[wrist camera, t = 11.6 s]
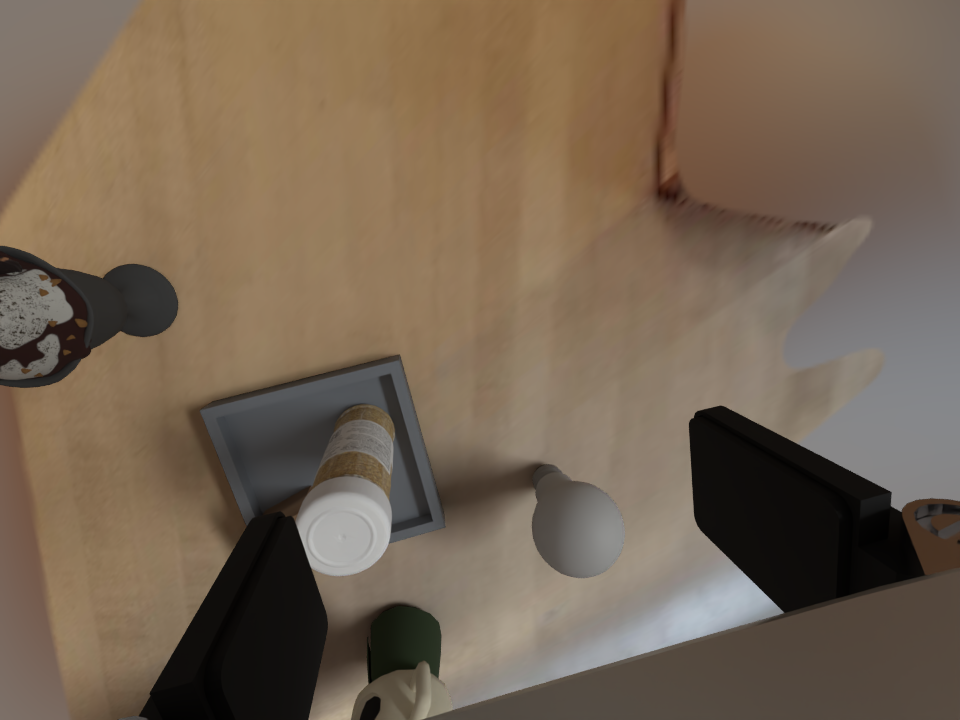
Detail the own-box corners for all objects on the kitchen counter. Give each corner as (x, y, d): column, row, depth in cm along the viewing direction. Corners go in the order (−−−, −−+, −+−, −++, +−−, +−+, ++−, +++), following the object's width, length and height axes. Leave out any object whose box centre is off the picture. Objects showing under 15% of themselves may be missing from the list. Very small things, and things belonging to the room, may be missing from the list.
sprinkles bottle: (366, 469, 35) (344, 597, 22) (320, 431, 33) (268, 545, 21) (408, 427, 35) (410, 532, 22) (363, 389, 33) (337, 476, 20)
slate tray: (212, 401, 33) (199, 410, 31) (399, 354, 34) (398, 360, 32) (275, 561, 36) (267, 578, 34) (443, 513, 37) (445, 527, 35)
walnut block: (265, 510, 34) (245, 542, 30) (311, 485, 34) (297, 513, 31) (294, 549, 35) (280, 584, 31) (339, 524, 35) (330, 556, 32)
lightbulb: (494, 478, 37) (525, 564, 27) (545, 425, 37) (597, 492, 26) (543, 519, 39) (592, 617, 28) (593, 469, 39) (661, 549, 28)
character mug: (381, 569, 38) (365, 724, 25) (462, 584, 39) (484, 738, 27) (348, 675, 40) (317, 870, 27) (426, 686, 41) (431, 875, 28)
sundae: (162, 366, 32) (-48, 455, 17) (66, 313, 30) (-255, 361, 16) (211, 290, 31) (35, 315, 17) (115, 231, 30) (-172, 202, 15)
